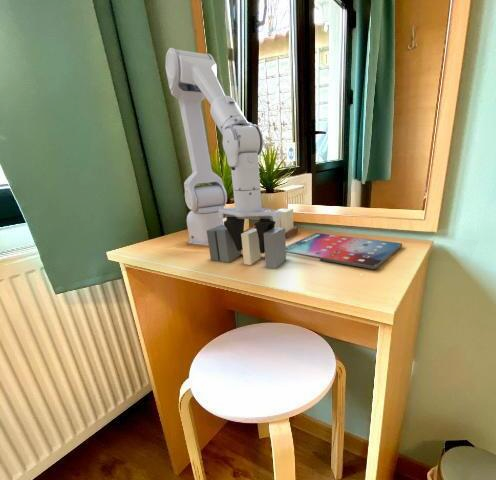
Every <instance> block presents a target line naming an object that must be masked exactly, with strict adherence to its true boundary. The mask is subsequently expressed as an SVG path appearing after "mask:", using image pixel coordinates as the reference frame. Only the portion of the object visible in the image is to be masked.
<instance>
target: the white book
mask: <svg viewBox="0 0 496 480" xmlns="http://www.w3.org/2000/svg"><path fill="white" fill-rule="evenodd" d="M241 238H242V248H243V250H242V256H243V264H244V265H249V266H251V265H253V264H255V263H256V262H258V261H259V260H261V259H262V253H260V248H259V238H258V233H257V230H256V229H250V230H248V231H246V230H245V231H244V233H242V234H241Z"/></svg>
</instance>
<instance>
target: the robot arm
mask: <svg viewBox="0 0 496 480" xmlns="http://www.w3.org/2000/svg"><path fill="white" fill-rule="evenodd" d="M217 70H218V69H217V63H216V61H215V59H214V57H213V56H212V54H210V53H201V52H196V51H195V52H194V51H189V50H182V49H176V48H174V47H169V48H168V50H167V52H166V54H165V74H166V77H167V82H168V88H169V91H170V95H171V96H173V97H174V98H175V99H176V100H177V102H178V106H179V111H180V116H181V120H182V125H183V130H184V135H185V140H186V145H187V151H188V157H189V160H190V161H189V162H190V166H191V171H192V172H191V174H190V175H189V176H188V177H187V178H186V179H185V181H184V182H183V188H184V200H185V204H186V206H187V208H188V209H189V210H190V211H189V212H188V214H187V215H186V226H187V233H188V239H189V241H188V244H195V245H205V246H209V244H208V237H207V230H209V229H212V228H214V227H217V226H220V225H224V226H225V227H226V228H227V229H228V231H229V232H230V234H231V236H232V238H233V240H234V243H235V245H236V248H237V251H241V252H242V251H243V248H242V238H241V234H242V233H244V232H245V220H256V221H257V222H254V226H255V227H256V230H257V233H258V238H259V248H260V253H261V254H265V247H264V233H265V232H267V231H269V230H271V229H273V227H274V225H275V222H277V221H279V220H281V211H278V210H279V209H276V210H275V209H270V208H263V206H262V192H261V178H260V165H259V156H260V155H261V154H262V152H263V147H264V137H263V134H262V131H261V129H260V127H259V125H257V124H253V123H252V122H250V121H248V120H247V118H246V117H245V115H244V113H243V112H242V110H241V109H240V106H239V105H238V104H237V102H236V101H235V98H234V97H232V96H229V95H226V94H225V91H224V89H223V88H222V85H221V83H220V81H219V79H218V77H217V76H218V75H217V74H218V71H217ZM205 99H206V100H207V102H208V103H209V104H210V109H209V114H210V116H211V118H212V120H213V121H214V123H215V125H216V127H217V128H218V130H219V132H220V134H221V136H222V148H223V151H224V154H225V156H226V161H227V162H226V163H227V165H228V167H230V173H231V183H232V191H233V201H234V207H231V208H229V207H227V208H226V205H227V202H228V194H227V190H226V188H225V186H224V181H223V179H222V177H220V176H219V175H218V174H216V173H215V172H214V171H213V169H212V162H211V157H210V152H209V146H208V145H209V144H208V141H207V133H206V129H205V123H204V118H203V113H202V112H203V111H202V108H201V103H202V101H204V100H205ZM203 184H205V185H203ZM224 219H226V220H225V221H224Z"/></svg>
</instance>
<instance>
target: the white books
mask: <svg viewBox="0 0 496 480" xmlns="http://www.w3.org/2000/svg"><path fill="white" fill-rule="evenodd" d="M277 210H278V211H281V220H279V221H277V222H275V225H274V226H275V227H280V228H285V233H286V232H288V231H289V230H291V229H293V228H294V227H293V226H294V208H278V209H277Z"/></svg>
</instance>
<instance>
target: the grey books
mask: <svg viewBox="0 0 496 480" xmlns="http://www.w3.org/2000/svg"><path fill="white" fill-rule="evenodd" d="M207 237H208V244H209V245H208V249H209V257H210V261H214V262H222V263H230V262H232V261H234V260H236V259H237V258H239V257H241V256H243V253H242V250H241V251H237V248H236V245H235V243H234V240H233V238H232V236H231V234H230V232H229V231H228V229H227V228H226V227H225V226H224V224H223V225H220V226H217V227H214V228H212V229H209V230H207ZM286 246H287V244H286V239H285V228H280V227H275V228H273V229H271V230H269V231H267V232H265V233H264V247H265V253H264V258H265V261H264V262H265V268H268V269H274V270H275V269H277V268H279V266H281V265H282V264H284V263H286V261H287V252H286Z"/></svg>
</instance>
